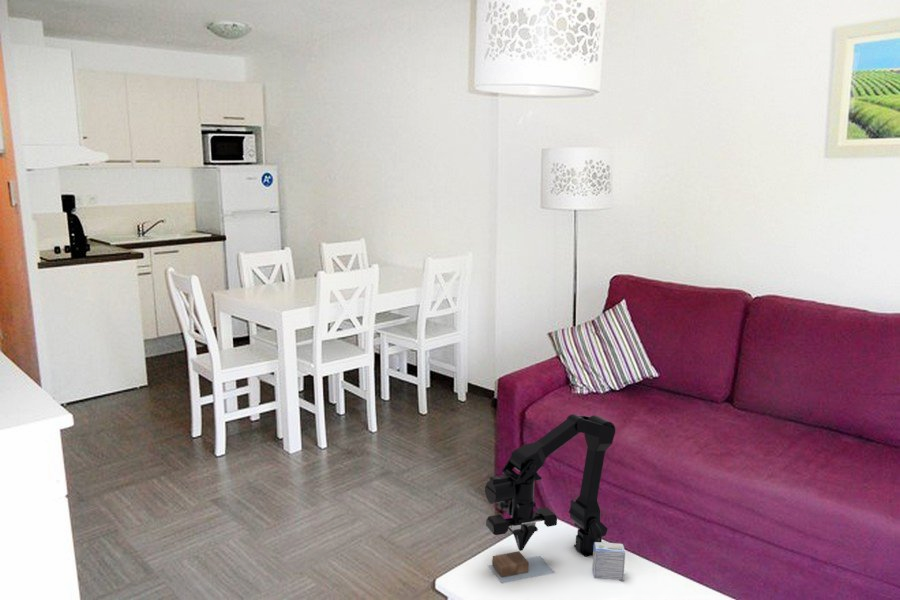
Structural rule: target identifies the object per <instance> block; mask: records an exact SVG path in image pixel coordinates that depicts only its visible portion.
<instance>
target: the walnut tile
mask: <svg viewBox="0 0 900 600" xmlns="http://www.w3.org/2000/svg"><path fill="white" fill-rule="evenodd" d="M491 565H492V566H493V567H494V568H495V570H496V571H497V572H498V574H499V575H500V576H501V577H505V576H511V575H516V574H521V573H526V572H528V570H529V562H528V561H527V560H526V559H525V556H524V555H523V554H522V553H521V551H520V550H518V551H513V552H508V553H503V554H496V555H492V563H491Z"/></svg>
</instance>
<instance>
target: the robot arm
mask: <svg viewBox="0 0 900 600" xmlns="http://www.w3.org/2000/svg"><path fill="white" fill-rule="evenodd" d="M580 433H583V434H584V440H585V443H586V447H587V450H586V456H585V459H584V460H585V461H584V467H583V473H582V479H581V486H580V492H579V495H578V496H577V498H576V499H571V500H570V507H569V511H568V514H569V518H570V519H571V521H572V522H573V525H574V526H575V527H576V528H578V529H577V534H576V535H575V544H574V545H573V547H574V548H575V549H576V551H578V552H579V553H580V554H581V555H582V556H583V557H585V558H588V557H593V550H594V542H602V543H603V541H602V539H603V537H605V536H606V535H607V533H608V532H607V531H608V530H609V529H608V527H606V525H604V524H603V523H602V522H601V508H600V504H599V501H598V498H599V497H598V496H599V492H600V485H601V479H602V473H603V468H604V460H605V455H606V451H607V450H608V448H609V447H610V446H612V444H613V441H614V437H615V434H616V426H615V425H614V423H612V422H611V421H609V420H607V419H605V418H604V417H601V416H599V415H595V414H594V415H591V416H588V415H582V414H581V415H578V414H575V413H574V414H573V413H572V414H569V415H568V416H567V417H566V419H565V420H564V421H563V422H561V423H560V424H559V425H556V426H555V427H554V428H553V429H551V430H550V431H548V432H547V433H546V434H545V435H544V436H542V437H540V438H539V439H537V441H534V442H530V443H525V444H523V445H521V446H520V447H518V448H516V449H514V450H513V451H512V452H511V454H510V458H509V459H508V461H507V462H506V463H505V465H504V467H503V468H502V470H501V473H502V474H503V475H502V474H501V475H495V476H490V477H489V481H487V482H486V484H485V486H484V493H485V497H486V499H487V501H488V502H489V504H496V507H497V509H499V510H503V511H504V512H505V511H506V513H507V515H508V516H510V518H509V517H508V518H504V517H503V516H502V514H495V515H488V516H487V518H486V522H485V527H486V528H488V530H489V531H490V532H491V533H492V534H493V535H494V536H498V535H505V534H507V532H511V534H513V536H514V540H515V543H516V546H517V549H518V551H519V552H521V551H523V550H524V549H525V547H526V545H527V544H528V542H529V540H530V539H531V538H532V536H533V535H534V534H535V532H538V530H539V529H538V527H537V525H536V523H537V522H538V523H539V522H543V523H544V524H543V525H545V526H546V527H547V528H548V527H554V526H557V525H558V518H557V515H556V514H555V513H554V512H553V511H552V510H551V509H550V508H549V507H540V508H536V502H535V501H534V495H535V482H536V481H540V480H542V476H540V475H539V473H538V472H539V470H540V469H541V468H542V467H543V466H544V464H545V462H546V459H547V458H549V456H550V455H551V454H553V453H555V452H556V451H557V450H558V449H560V448H561V447H563V446H564V445H566V443H568V442H569V441H570V440H572V439H574V438H575V437H576V436H577V435H579V434H580ZM514 469H515V470H516V471H518V472H519V473H517V472H516V471H515V470H514ZM534 507H535V510H534Z"/></svg>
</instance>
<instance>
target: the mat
mask: <svg viewBox="0 0 900 600" xmlns="http://www.w3.org/2000/svg"><path fill="white" fill-rule="evenodd" d="M525 559H526V560H527V561H528V562H529V570H528V572H526V573H521V574H516V575H511V576H505V577H501V576H500V575H499V574H498V572H497V571H496V570H495V568H494V567H493V566H492V564H488V565H487V567H488V568H489V569H490V570H491V572H492V573H493V575H494V576H495V577H496V579H497V580H498V581H499V582H500V584H504V583H509V582H515V581H520V580H524V579H525V580H526V579H530V578H535V577H541V576H546V575H550V574H555V573H556V572H555V570H553V568H552V567H551V566H550V565H549V563H547V562H546V560H544V558H543V557H542V556H541V555H538V556H536V555H535V556H531V557H526V558H525Z"/></svg>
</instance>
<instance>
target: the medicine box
mask: <svg viewBox="0 0 900 600" xmlns="http://www.w3.org/2000/svg"><path fill="white" fill-rule="evenodd" d="M625 565H626V550H625V546H624V544H623V543H615V542H603V541H602V542H594V550H593V556H592V568H591V569H592V574H593V579H600V580H602V579H603V580H617V581H621V582H623V581H624V579H625V577H624V576H625Z"/></svg>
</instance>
